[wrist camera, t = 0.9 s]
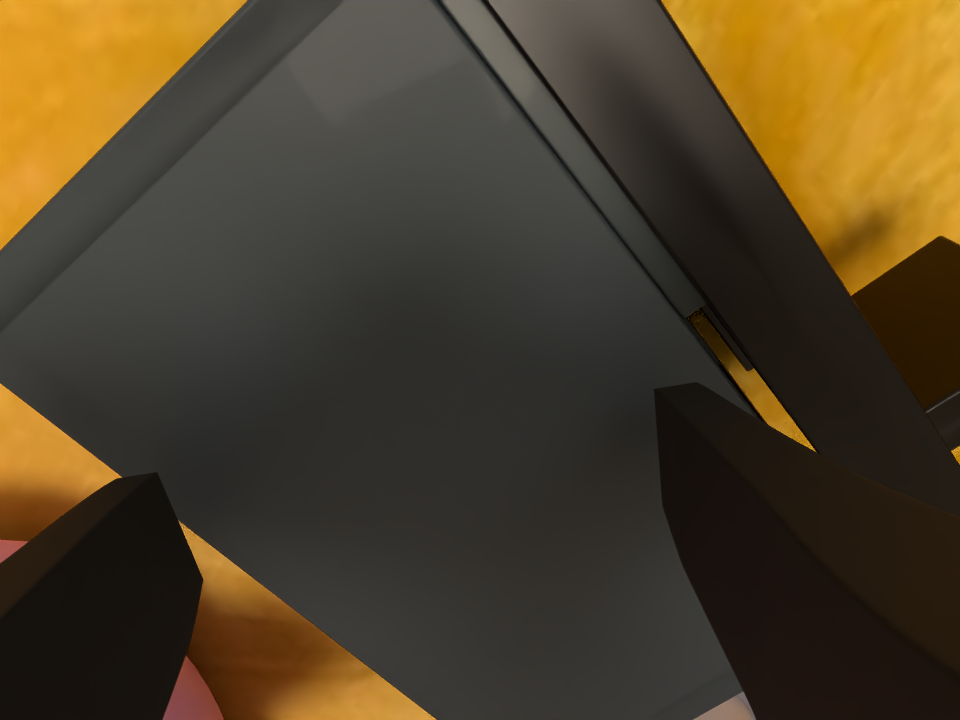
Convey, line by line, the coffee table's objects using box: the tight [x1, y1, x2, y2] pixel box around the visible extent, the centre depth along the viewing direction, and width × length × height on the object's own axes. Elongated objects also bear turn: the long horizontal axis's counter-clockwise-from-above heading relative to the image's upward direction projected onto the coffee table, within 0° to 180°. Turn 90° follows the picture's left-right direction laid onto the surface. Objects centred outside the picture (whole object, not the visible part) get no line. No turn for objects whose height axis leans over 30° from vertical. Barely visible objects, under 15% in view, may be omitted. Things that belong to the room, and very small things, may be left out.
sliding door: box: [851, 236, 960, 451], centre depth 16 cm, size 7×5×8 cm, turn 39°
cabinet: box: [0, 0, 960, 720], centre depth 16 cm, size 14×10×9 cm
